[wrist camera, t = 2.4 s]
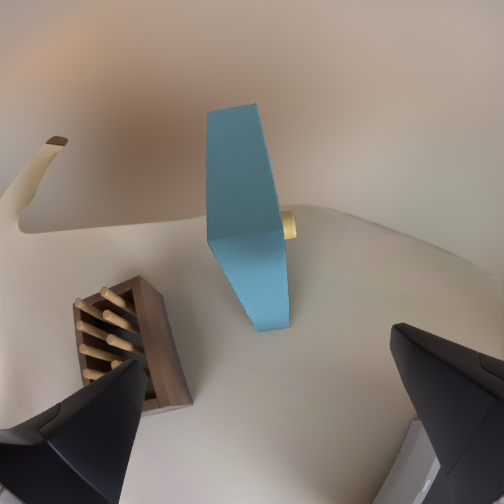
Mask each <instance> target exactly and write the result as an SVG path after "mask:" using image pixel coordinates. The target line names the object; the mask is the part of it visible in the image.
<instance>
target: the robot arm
mask: <svg viewBox="0 0 504 504" xmlns="http://www.w3.org/2000/svg"><path fill="white" fill-rule="evenodd" d="M390 350H391V353H392V355H393V358H394V361H395V363H396V366H397V369H398V371H399V374H400V377H401V380H402V382H403V385H404V387H405V389H406V391H407V393H408V395H409V397H410V399H411V401H412V403H413V405H414V407H415V409H416V412H417V414H418V416H419V418H420V420H421V422H422V424H423V427H424V429H425V431H426V433H427V435H428V438H429V440H430V442H431V444H432V447H433V449H434V451H435V454H436V456H437V459H438V461H439V463H440V466H441V468H442V471H443V473H444V476H445V477H446V481H447V484H448V487H449V489H450V492H451V495H452V498H453V500H454V503H455V504H497V503H498V504H504V361H503V360H499V359H496V358H493V357H491V356H488V355H485V354H483V353H480V352H479V353H478V352H477V351H475V350H472V349H470V348H467V347H464V346H462V345H459V344H457V343H454V342H452V341H449V340H446V339H444V338H441V337H439V336H436V335H434V334H431V333H428V332H426V331H423V330H421V329H418V328H416V327H413V326H411V325H408V324H406V323H399V324H395V325H393V326H392V328H391V338H390ZM146 386H147V376H146V374H145V372H144V370H143V367H142V365H141V363H140V361H139V360H137V359H128V360H126V361H124V362H123V363H121V364H120V365H118V366H117V367H115V368H114V369H112V370H110V371H109V372H107V373H106V374H104V375H103V376H101V377H99V378H98V379H96V380H95V381H93V382H92V383H90V384H88V385H87V386H85V387H84V388H82V389H80V390H79V391H77V392H76V393H74V394H72V395H71V396H69V397H68V398H66V399H64V400H63V401H62V402H59V403H58V404H56V405H55V406H53V407H51V408H49V409H48V410H46V411H44V412H42V413H41V414H39V415H37V416H35V417H33V418H31V419H29V420H27V421H25V422H23V423H21V424H19V425H17V426H15V427H12V428H9V429H0V504H119V499H120V495H121V491H122V486H123V482H124V478H125V474H126V470H127V466H128V462H129V458H130V454H131V450H132V447H133V443H134V439H135V436H136V432H137V429H138V425H139V422H140V418H141V414H142V409H143V403H144V397H145V391H146Z"/></svg>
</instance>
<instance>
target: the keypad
mask: <svg viewBox="0 0 504 504" xmlns="http://www.w3.org/2000/svg"><path fill="white" fill-rule="evenodd" d="M372 504H455V503H454V500H453V498H452V495H451V492H450V489H449V487H448V484H447V481H446V477H445V476H444V473H443V471H442V468H441V466H440V463H439V461H438V459H437V456H436V454H435V451H434V449H433V447H432V444H431V442H430V440H429V438H428V435H427V433H426V431H425V429H424V427H423V424H422V422H421V421H419V420H412V422H411V425H410V427H409V430H408V432H407V435H406V437H405V440H404V442H403V444H402V446H401V449H400V451H399V453H398V455H397V457H396V460H395V462H394V464H393V466H392V468H391V470H390V472H389V474H388V476H387V478H386V479H385V481H384V483H383V485H382V487H381V489H380V490H379V492H378V494H377V496H376V497H375V499H374V501H373V502H372ZM497 504H498V503H497Z"/></svg>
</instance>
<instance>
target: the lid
mask: <svg viewBox="0 0 504 504" xmlns="http://www.w3.org/2000/svg"><path fill="white" fill-rule="evenodd" d="M206 161H207V162H206V163H207V164H206V165H207V166H206V167H207V168H206V170H207V171H206V187H207V188H206V190H207V192H206V193H207V197H206V198H207V242H208V244H209V246H210V248H211V250H212V252H213V253H214V255H215V257H216V259H217V261H218V263H219V264H220V266H221V268H222V270H223V272H224V274H225V275H226V277H227V279H228V281H229V283H230V285H231V286H232V288H233V290H234V292H235V294H236V295H237V297H238V299H239V301H240V302H241V304H242V306H243V308H244V310H245V311H246V313H247V315H248V317H249V318H250V320H251V322H252V324H253V325H254V327H255V329H256V331H257V332H261V331H268V330H275V329H282V328H288V327H290V317H289V298H288V281H287V265H286V250H285V239H291V238H296V226H295V220H294V215H293V212H292V211H287V212H280V207H279V202H278V197H277V193H276V188H275V183H274V178H273V174H272V169H271V165H270V160H269V156H268V151H267V147H266V142H265V138H264V133H263V129H262V125H261V121H260V116H259V112H258V108H257V104H250V105H244V106H239V107H233V108H228V109H223V110H218V111H213V112H209V113H207V159H206Z"/></svg>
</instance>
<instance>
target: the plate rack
mask: <svg viewBox="0 0 504 504" xmlns="http://www.w3.org/2000/svg"><path fill="white" fill-rule="evenodd" d="M73 311H74V323H75V333H76V342H77V349H78V357H79V363H80V369H81V375H82V380H83V385H84V387H85V386H87V385H88V384H90V383H92V382H93V381H95V380H96V379H98V378H99V377H101V376H103V375H104V374H106V373H107V372H109V371H110V370H112V369H114V368H115V367H117V366H118V365H120V364H121V363H123V362H124V361H126V360H128V359H137V360H139V361H140V363H141V365H142V367H143V370H144V372H145V374H146V376H147V386H146V391H145V397H144V403H143V409H142V414H141V417H145V416H150V415H155V414H159V413H163V412H167V411H172V410H176V409H180V408H183V407H187V406H191V405H193V402H192V399H191V397H190V393H189V390H188V387H187V384H186V381H185V378H184V375H183V372H182V368H181V365H180V362H179V358H178V355H177V351H176V348H175V344H174V340H173V337H172V333H171V329H170V325H169V322H168V318H167V314H166V309H165V305H164V301H163V297H162V295H161V294H160V293H158V292H157V291H156V290H155V289H154V288H153V287H151V286H150V285H149V284H148V283H147V282H146V281H144V280H143V279H142V278H141V277H140V276H137V277H134V278H132V279H131V280H127V281H125V282H123V283H120V284H118V285H116V286H113V287H111V288H107V287H103V288H102V289H101V291H100V292H99V293H97V294H94V295H92V296H90V297H87V298H85V299H83V300H82V299H80V298H77V299H76V300H75V303H73Z"/></svg>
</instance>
